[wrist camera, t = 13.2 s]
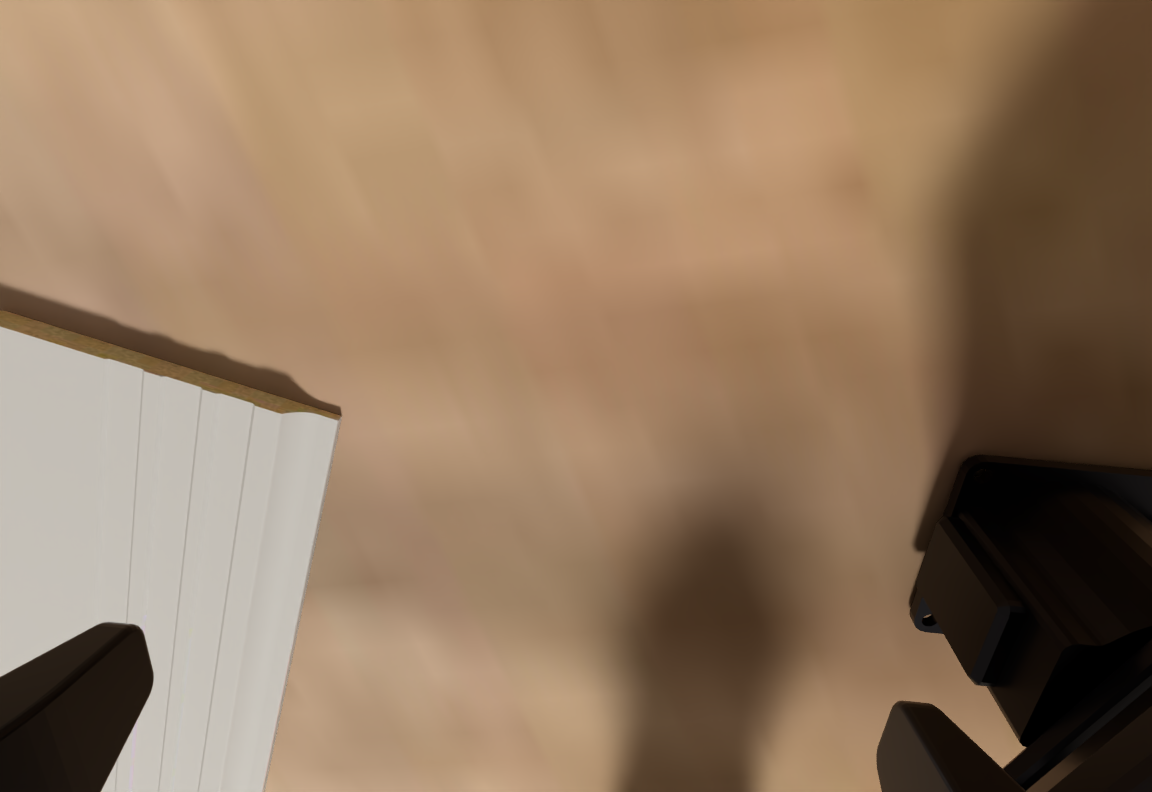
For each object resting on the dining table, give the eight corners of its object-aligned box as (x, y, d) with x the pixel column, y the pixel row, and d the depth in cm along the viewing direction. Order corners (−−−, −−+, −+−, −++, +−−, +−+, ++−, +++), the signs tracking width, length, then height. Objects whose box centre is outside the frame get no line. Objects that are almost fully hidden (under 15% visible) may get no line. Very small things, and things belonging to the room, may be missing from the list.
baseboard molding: (393, 420, 23) (15, 302, 22) (363, 467, 20) (-70, 334, 19) (267, 940, 35) (25, 880, 35) (238, 1010, 33) (-24, 947, 32)
